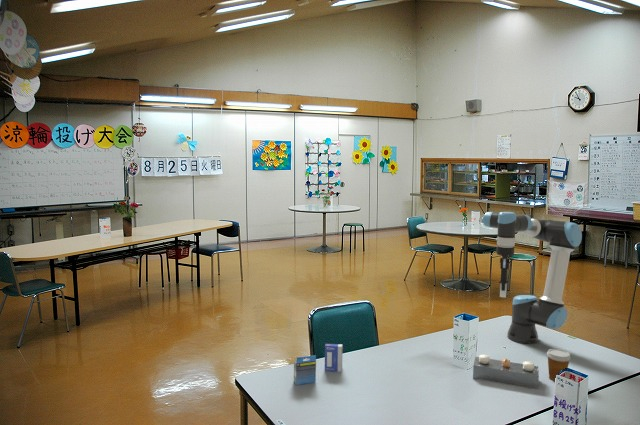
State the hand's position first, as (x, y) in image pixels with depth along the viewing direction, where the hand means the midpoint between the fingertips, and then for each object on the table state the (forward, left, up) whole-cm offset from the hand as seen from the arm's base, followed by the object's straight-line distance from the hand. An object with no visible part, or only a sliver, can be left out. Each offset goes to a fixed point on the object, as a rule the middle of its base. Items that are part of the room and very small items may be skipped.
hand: (502, 296), depth 226 cm
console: (+15, +3, -32) cm, 36 cm away
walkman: (+36, -69, -33) cm, 84 cm away
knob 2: (+15, +12, -31) cm, 37 cm away
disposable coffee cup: (+6, +24, -33) cm, 41 cm away
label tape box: (+52, -76, -33) cm, 98 cm away
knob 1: (+15, -6, -31) cm, 35 cm away
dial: (+15, +3, -26) cm, 31 cm away
